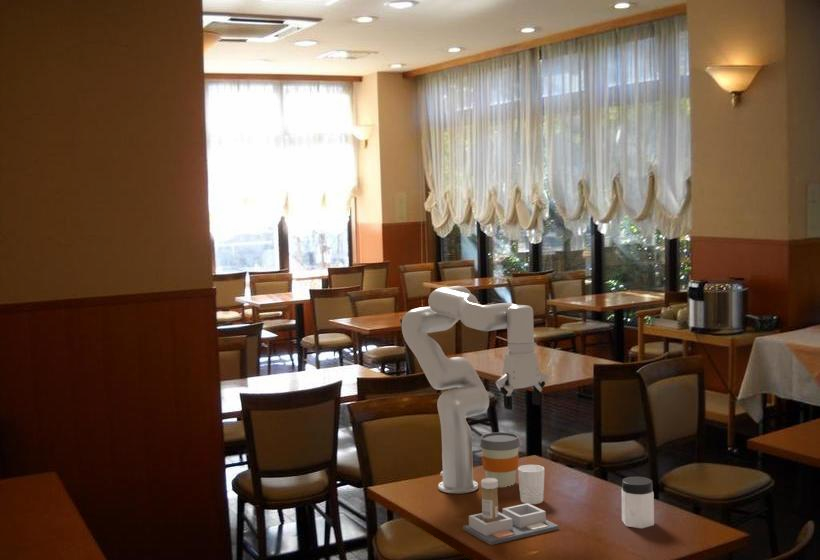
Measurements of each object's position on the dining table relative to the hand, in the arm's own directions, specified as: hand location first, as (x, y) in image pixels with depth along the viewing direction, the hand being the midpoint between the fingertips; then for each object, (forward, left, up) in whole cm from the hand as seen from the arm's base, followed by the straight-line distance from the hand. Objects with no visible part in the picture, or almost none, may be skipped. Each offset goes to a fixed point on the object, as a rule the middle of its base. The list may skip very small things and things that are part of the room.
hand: (522, 406), depth 271 cm
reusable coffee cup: (-25, +8, -31) cm, 40 cm away
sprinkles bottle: (+10, -18, -30) cm, 36 cm away
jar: (+27, +19, -31) cm, 45 cm away
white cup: (-5, +6, -31) cm, 31 cm away
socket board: (+12, -13, -30) cm, 35 cm away
